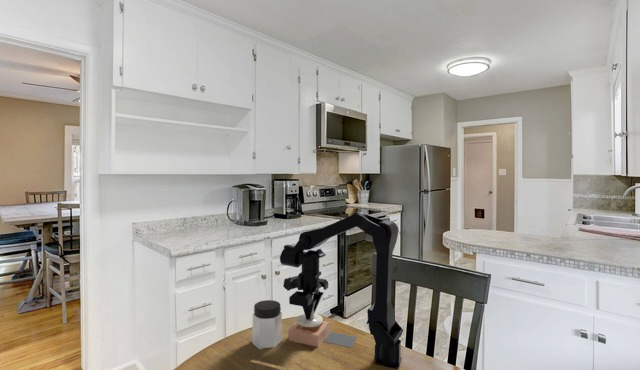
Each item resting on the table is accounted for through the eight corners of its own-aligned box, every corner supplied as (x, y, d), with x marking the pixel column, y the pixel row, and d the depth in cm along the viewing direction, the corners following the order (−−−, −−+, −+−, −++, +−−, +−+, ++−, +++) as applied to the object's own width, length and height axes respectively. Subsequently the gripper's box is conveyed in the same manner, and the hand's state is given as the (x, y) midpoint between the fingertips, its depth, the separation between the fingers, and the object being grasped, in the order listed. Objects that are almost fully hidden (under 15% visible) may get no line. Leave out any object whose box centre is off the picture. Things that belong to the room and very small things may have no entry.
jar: (285, 344, 98) (286, 306, 98) (262, 353, 93) (262, 313, 93) (271, 333, 105) (271, 297, 105) (248, 341, 100) (248, 303, 100)
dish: (329, 333, 106) (329, 321, 105) (318, 348, 96) (318, 335, 96) (301, 328, 109) (301, 316, 109) (288, 342, 100) (288, 329, 100)
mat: (357, 338, 103) (357, 336, 103) (351, 349, 96) (351, 347, 96) (331, 333, 106) (331, 331, 106) (323, 343, 99) (323, 341, 99)
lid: (326, 318, 105) (326, 302, 105) (317, 329, 97) (317, 312, 97) (303, 313, 108) (303, 298, 108) (292, 324, 100) (292, 307, 100)
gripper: (299, 260, 114) (299, 303, 114) (273, 274, 97) (273, 325, 97) (329, 263, 110) (328, 308, 110) (307, 279, 92) (307, 332, 93)
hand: (309, 317), depth 103 cm, fingers closed on lid, 3 cm apart
